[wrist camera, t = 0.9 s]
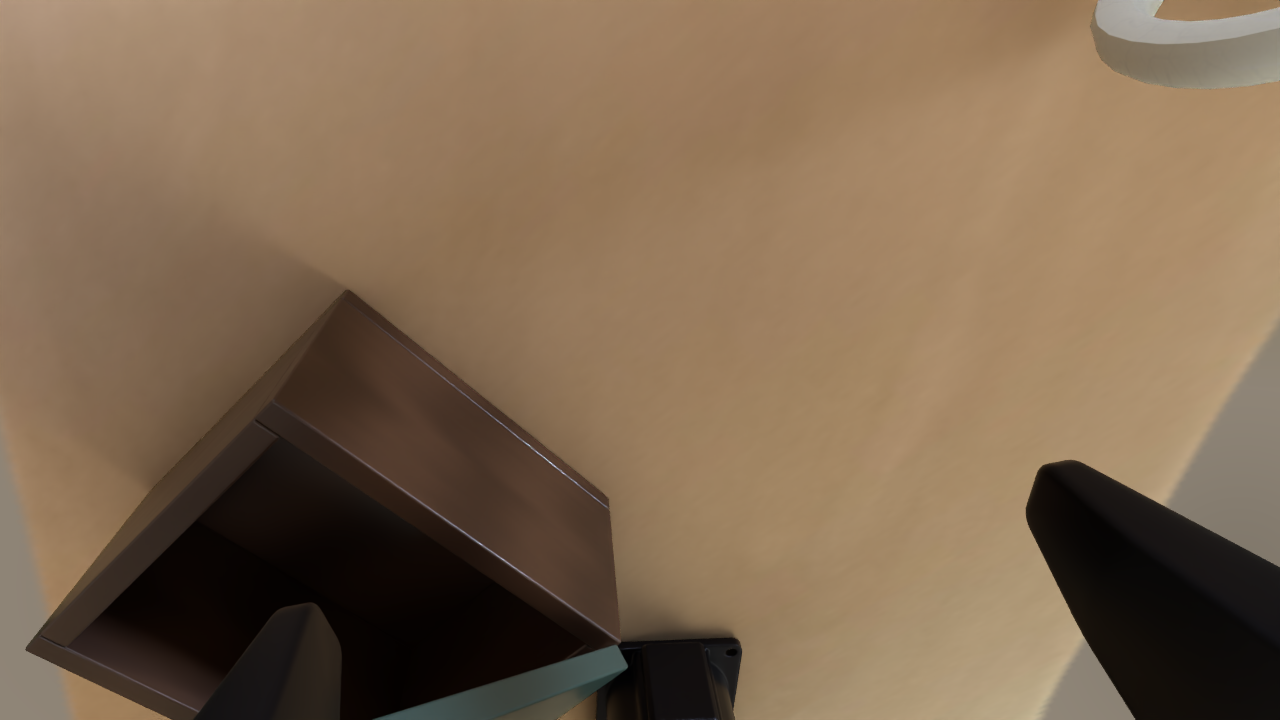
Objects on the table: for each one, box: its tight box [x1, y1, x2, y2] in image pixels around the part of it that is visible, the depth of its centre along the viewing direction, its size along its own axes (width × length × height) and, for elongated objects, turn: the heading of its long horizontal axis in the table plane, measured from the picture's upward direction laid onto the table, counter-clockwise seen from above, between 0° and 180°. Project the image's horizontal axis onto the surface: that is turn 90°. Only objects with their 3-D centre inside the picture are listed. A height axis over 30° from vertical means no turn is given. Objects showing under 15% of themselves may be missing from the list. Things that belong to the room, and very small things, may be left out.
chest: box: [26, 290, 621, 720], centre depth 25 cm, size 13×12×7 cm
